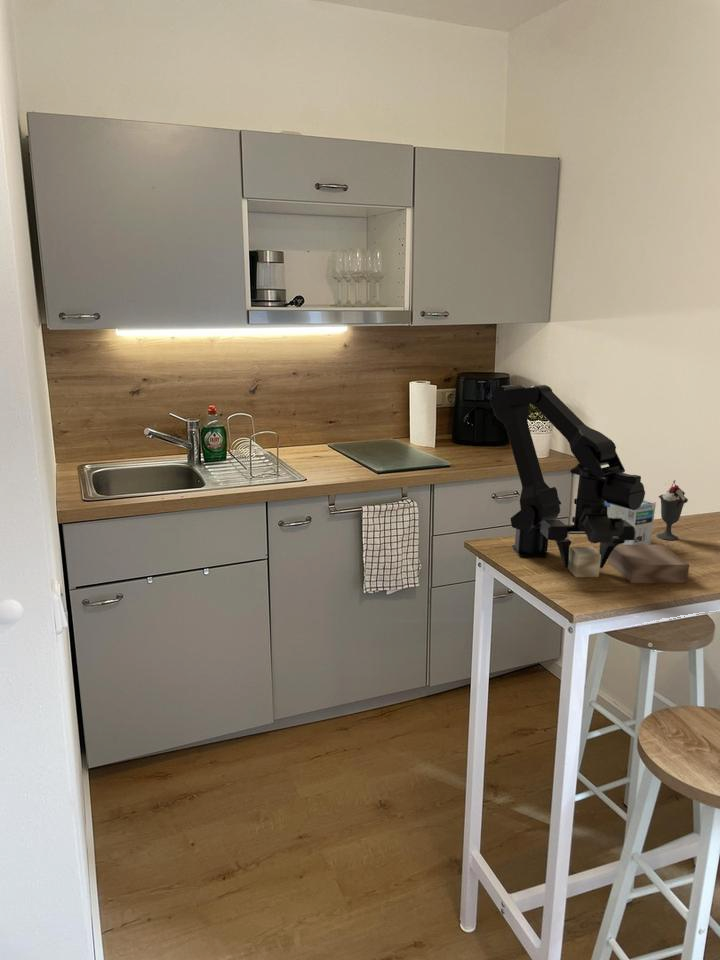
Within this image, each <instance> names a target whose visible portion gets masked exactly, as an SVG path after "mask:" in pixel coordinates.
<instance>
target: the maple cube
mask: <svg viewBox="0 0 720 960" xmlns="http://www.w3.org/2000/svg"><path fill="white" fill-rule="evenodd" d="M600 562H601V554H600V553H599V551H597V549H595V548H594V547H593V546H569V563H568V568H567V570H568V571H569V572H570V573H571V574H572V575H573V576H574V577H575V578H598V577H600V569H601V568H600Z"/></svg>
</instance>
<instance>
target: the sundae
mask: <svg viewBox="0 0 720 960" xmlns="http://www.w3.org/2000/svg"><path fill="white" fill-rule="evenodd" d="M675 482H676V480H673V481H672V484H671V486H670V487H669V489H668V490H666V492H665V493H663V494H661V495H658V498H659V499H660V517H661V519H662V521H663V522H664V523H665V524H666V527H665V529H664V531H663V532H662V533H661V532H659V533H657V534H656V537H657V538H658V539H662V540H665V541H677V540H679V537H678V536H677V535H675V534H673V533H672V525H674V524H676V523H677V522H678V521H680V517H681V515H682V511H683V507H684V505H685V504H686V503H688V502H689V498H687V497H685V494H686V492H685V491H684V490H683V489H681V488H680V486H679V485H677V484H676V483H675Z"/></svg>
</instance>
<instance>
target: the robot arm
mask: <svg viewBox="0 0 720 960" xmlns="http://www.w3.org/2000/svg"><path fill="white" fill-rule="evenodd" d="M489 400H490V401H489V402H490V405H491V408H492V410H493V412H494V415H495V417H496V418H497V419H498V420H499V422H501V423H502V424H503V425H504V427H505V429H506V433H507V436H508V441H509V444H510V447H511V451H512V454H513V459H514V462H515V464H516V465H515V466H516V469H517V472H518V476H519V479H520V483H521V484H520V485H521V493H520V496H519V497H520V498H519V507H520V510H519V511H518V512H516V513H515V514H513V515H512V516H511V517H510V524H511V527H512V528H513V529H515V540H514V544H512V549H513V551H515V553H516V554H517V555H518V556H519V557H520V558H523V557H524V558H525V557H526V558H531V557H535V558H536V557H537V558H538V557H539V558H540V557H541V558H542V557H543V558H545V557H548V553H547V552H548V547H549V546H548V545H549V541H553V542H555V543H556V545H557V547H558V548H557V549H558V550H559V554H560V558H561V560H562V561H561V562H562V564H563V567H564V568H565V569H568V563H569V548H570V547H571V545H572V541H571V540H570V539H569V535H586V537H587V540H588V541H589V542H590V543H591V544H598V543H599V551H598V553H600V554H601V562H600V569H603V568H604V566H605V565H606V562H608V557H609V555H610V554H611V552H612V551H613V549H614V548H615V547H616V546H617V545H622V544H623V543H624V542H625V541H624V540H635V534H636V531H635V528H634V527H633V526H632V525H631V524H629V523H628V522H627V521H625V520H622V518H608V515H607V506H606V505H605V501H606V502H607V503H609V504H613V505H617V506H620V507H624V508H627V509H631V510H636V509H638V508H639V507H640V506H641V504H642V502H643V500H644V499H645V496H646V490H645V486H644V484H643V483H642V481H641V480H642V479H641V478H642V477H641V475H637V474H629V473H626V469H625V467H624V465H623V464H622V461H621V459H620V458H619V455H618V453H617V451H616V449H617V446H616V443H614V441H613V440H612V439H611V438H609V437H608V436H606V435H605V434H603V432H600V431H598V430H595V429H593V428H591V427H590V426H588V425H586V424H585V423H584V422H583V421H582V420H581V419H580V418H579V417H578V416H577V415H576V414H575V413H574V412H573V410H572V409H570V408H569V407H568V406H567V405H566V404H565V403H564V402H563V401H562V400H561V399H560V398H559V397H558V396H557V395H556V394H555V393H554V392H553V389H552V388H551V387H549V385H547V384H539V385H533V386H530V387H524V386H522V385H521V384H511V385H510V384H508V385H501V386H497V387H495V388H494V389H493V390H492V392H491V394H490V396H489ZM530 405H533V406H534V407H535V408H536V409H537V410H538V411H539V413H541V414H542V416H544V417H545V418H546V419H547V421H548V422H550V423H551V424H552V426H553V427H554V428H555V429H556V430H557V431H558V432H559V433H560V434H561V435H562V436H563V437H564V439H566V440H567V442H568V444H569V447H570V451H571V453H572V455H573V456H574V458H575V459H576V460H577V462H578V463H577V465H576V466H575V467H573V468H571V469H570V471H569V472H570V474H573V475H577V476H578V483H577V494H576V498H574V500H573V501H574V502H573V503H574V505H575V512H574V516H572V519H571V522H572V523H573V524H565V523H563V521H562V520H560V519H557V518H558V517H559V514H560V512H561V507H560V505H562V502H561V500H560V498H559V495H558V490H557V487H555V486H553V487H552V486H551V487H550V486H549V485H548V484H547V483H546V482H545V480H544V477H543V473H542V469H541V466H540V461H539V459H538V455H537V451H536V448H535V444H534V441H533V438H532V433H531V429H530V426H529V423H528V418H529V413H530V409H531V406H530ZM607 465H608V466H607ZM602 466H605V467H602Z"/></svg>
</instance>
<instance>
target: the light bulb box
mask: <svg viewBox="0 0 720 960" xmlns="http://www.w3.org/2000/svg"><path fill="white" fill-rule="evenodd" d="M605 505H606V506H607V515H608V518H622V520H625V521H627V522H628V523H629V524H631V525H632V526H633V527H634V528H635V531H636V534H635V540H624V541H625V542H624V543H623V544H621V545H652V544H651V543H652V538H653V537H652V535H653V528H654V527H653V526H654V519H655V513H656V512H655V511H656V505H657V502H655V501H652V500H648V499H646V498H644V500H643V502H642V504H641V506H640V507H639V508H638V509H636V510H631V509H627V508H624V507H620V506H617V505H613V504H609V503H607V502H606V501H605Z"/></svg>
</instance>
